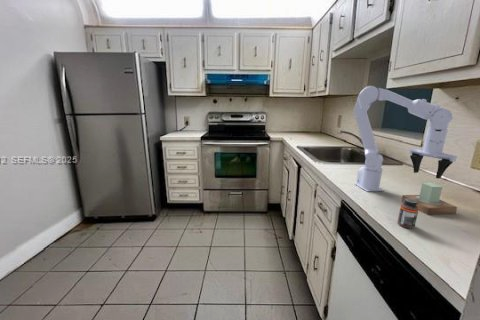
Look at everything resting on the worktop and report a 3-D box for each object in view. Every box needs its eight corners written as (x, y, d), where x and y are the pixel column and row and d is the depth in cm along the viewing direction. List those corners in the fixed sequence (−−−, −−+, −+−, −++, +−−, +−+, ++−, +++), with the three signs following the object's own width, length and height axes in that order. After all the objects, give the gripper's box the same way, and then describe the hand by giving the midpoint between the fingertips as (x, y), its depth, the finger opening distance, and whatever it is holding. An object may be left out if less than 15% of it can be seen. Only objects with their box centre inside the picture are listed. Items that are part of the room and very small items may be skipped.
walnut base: (401, 201, 89) (402, 194, 88) (426, 200, 90) (428, 194, 89) (427, 214, 78) (428, 207, 78) (455, 213, 79) (457, 206, 79)
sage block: (418, 198, 85) (422, 183, 84) (428, 197, 86) (432, 182, 84) (428, 202, 81) (432, 187, 80) (438, 202, 82) (442, 186, 80)
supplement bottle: (397, 220, 74) (403, 196, 72) (414, 225, 71) (420, 200, 69) (396, 225, 71) (401, 200, 69) (414, 230, 68) (420, 204, 66)
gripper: (407, 138, 91) (401, 171, 94) (453, 144, 78) (443, 182, 81) (417, 137, 94) (411, 169, 97) (463, 143, 81) (453, 179, 85)
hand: (426, 175), depth 90 cm, fingers open, 7 cm apart
